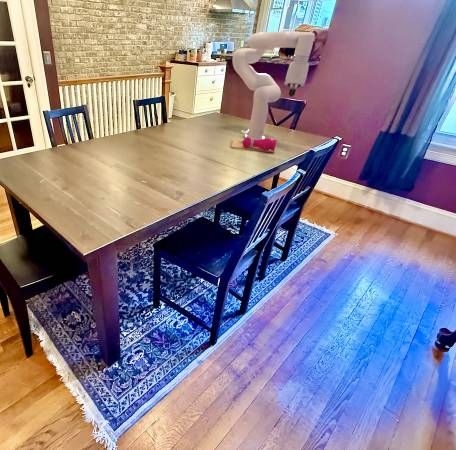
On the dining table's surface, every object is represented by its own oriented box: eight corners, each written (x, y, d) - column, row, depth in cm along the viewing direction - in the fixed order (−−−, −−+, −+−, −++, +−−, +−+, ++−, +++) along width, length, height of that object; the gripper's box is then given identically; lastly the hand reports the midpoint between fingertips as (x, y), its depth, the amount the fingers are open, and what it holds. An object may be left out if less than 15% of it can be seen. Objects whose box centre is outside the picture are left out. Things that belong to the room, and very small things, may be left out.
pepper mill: (275, 144, 170) (238, 140, 177) (273, 154, 176) (238, 150, 183) (277, 136, 174) (241, 132, 181) (275, 146, 179) (241, 142, 186)
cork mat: (231, 147, 182) (231, 146, 182) (233, 141, 194) (233, 140, 194) (273, 152, 177) (273, 151, 177) (272, 145, 189) (272, 144, 188)
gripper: (285, 59, 160) (277, 96, 170) (316, 61, 156) (305, 99, 166) (285, 58, 166) (277, 94, 176) (315, 60, 162) (304, 96, 172)
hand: (291, 96), depth 171 cm, fingers closed
